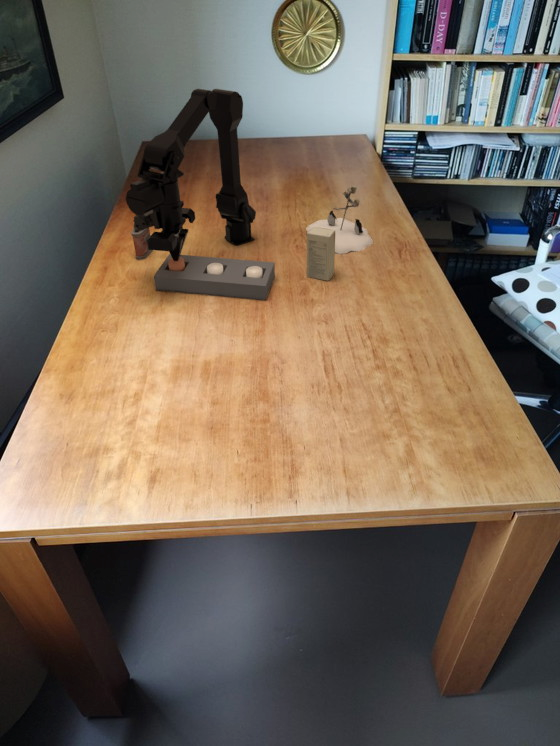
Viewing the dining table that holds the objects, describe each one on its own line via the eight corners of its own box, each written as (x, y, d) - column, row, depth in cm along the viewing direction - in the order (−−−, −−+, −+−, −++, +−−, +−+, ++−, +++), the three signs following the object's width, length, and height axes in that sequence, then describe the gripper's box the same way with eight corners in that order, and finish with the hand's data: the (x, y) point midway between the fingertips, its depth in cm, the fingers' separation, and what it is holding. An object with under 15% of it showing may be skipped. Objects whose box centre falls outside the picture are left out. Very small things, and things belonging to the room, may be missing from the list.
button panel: (274, 276, 142) (274, 262, 140) (265, 300, 133) (265, 286, 131) (171, 267, 146) (169, 253, 144) (155, 290, 137) (153, 276, 135)
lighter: (144, 260, 149) (138, 225, 143) (133, 259, 150) (126, 224, 144) (155, 247, 155) (150, 213, 149) (144, 246, 156) (138, 212, 150)
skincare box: (334, 274, 143) (337, 230, 135) (328, 281, 140) (331, 237, 132) (311, 269, 145) (313, 225, 138) (305, 276, 142) (306, 232, 134)
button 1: (225, 277, 141) (224, 263, 138) (221, 285, 137) (220, 271, 135) (210, 276, 141) (209, 262, 139) (206, 284, 138) (204, 269, 135)
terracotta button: (187, 271, 141) (186, 257, 139) (183, 279, 138) (181, 264, 136) (173, 270, 142) (171, 256, 139) (167, 277, 139) (165, 263, 136)
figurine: (292, 233, 160) (297, 178, 149) (336, 217, 170) (344, 165, 159) (340, 263, 150) (350, 208, 139) (384, 244, 159) (397, 191, 148)
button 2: (264, 280, 139) (263, 266, 137) (260, 288, 136) (260, 274, 134) (248, 279, 140) (248, 265, 137) (245, 287, 137) (244, 273, 134)
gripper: (149, 183, 136) (158, 241, 146) (119, 213, 122) (131, 276, 132) (192, 186, 134) (198, 244, 144) (167, 217, 120) (176, 280, 130)
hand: (176, 260), depth 138 cm, fingers closed, pressing on terracotta button
